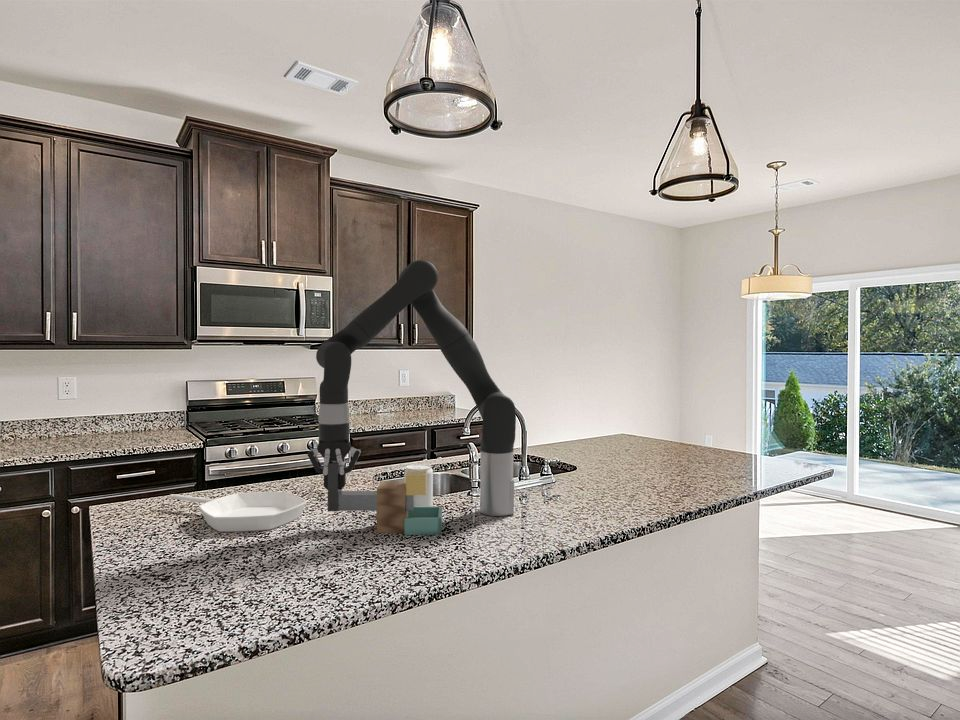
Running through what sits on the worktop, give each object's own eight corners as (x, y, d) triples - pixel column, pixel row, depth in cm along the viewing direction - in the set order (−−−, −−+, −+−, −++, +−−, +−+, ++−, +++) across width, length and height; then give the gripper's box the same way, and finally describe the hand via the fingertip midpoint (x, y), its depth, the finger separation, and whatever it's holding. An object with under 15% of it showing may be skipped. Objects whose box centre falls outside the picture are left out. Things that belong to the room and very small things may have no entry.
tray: (442, 521, 159) (442, 506, 158) (441, 534, 148) (441, 518, 147) (408, 521, 158) (408, 506, 158) (404, 534, 147) (404, 518, 147)
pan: (255, 541, 142) (255, 522, 142) (127, 522, 156) (127, 505, 156) (323, 511, 168) (323, 495, 168) (208, 497, 182) (208, 482, 182)
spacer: (426, 490, 155) (426, 470, 155) (425, 495, 150) (425, 475, 150) (407, 490, 155) (407, 471, 155) (405, 495, 150) (405, 475, 150)
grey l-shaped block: (414, 505, 155) (414, 459, 155) (413, 511, 150) (413, 463, 150) (331, 505, 154) (331, 459, 154) (327, 511, 149) (327, 463, 149)
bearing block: (407, 523, 157) (407, 481, 156) (405, 532, 149) (405, 488, 148) (380, 523, 156) (380, 481, 156) (376, 532, 148) (376, 488, 148)
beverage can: (428, 513, 166) (428, 470, 166) (400, 511, 168) (400, 468, 167) (436, 505, 174) (436, 464, 174) (409, 503, 176) (409, 463, 175)
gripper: (364, 418, 155) (364, 485, 156) (309, 419, 155) (310, 485, 155) (359, 422, 148) (360, 492, 148) (302, 423, 147) (303, 493, 148)
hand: (334, 488), depth 152 cm, fingers closed on grey l-shaped block, 2 cm apart
